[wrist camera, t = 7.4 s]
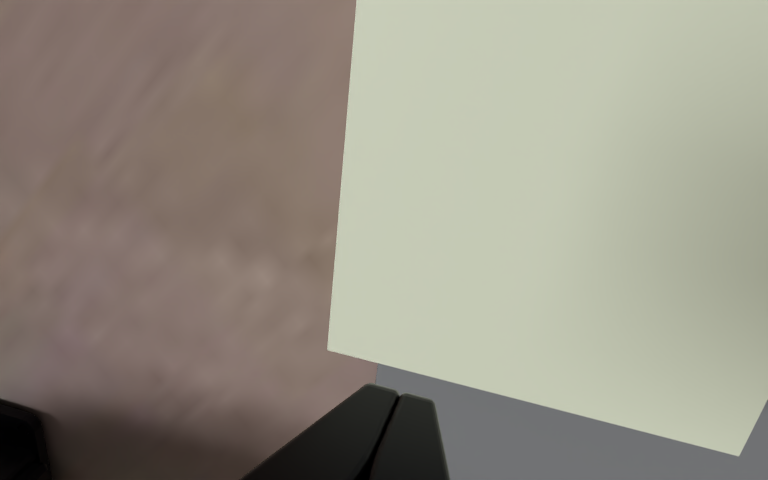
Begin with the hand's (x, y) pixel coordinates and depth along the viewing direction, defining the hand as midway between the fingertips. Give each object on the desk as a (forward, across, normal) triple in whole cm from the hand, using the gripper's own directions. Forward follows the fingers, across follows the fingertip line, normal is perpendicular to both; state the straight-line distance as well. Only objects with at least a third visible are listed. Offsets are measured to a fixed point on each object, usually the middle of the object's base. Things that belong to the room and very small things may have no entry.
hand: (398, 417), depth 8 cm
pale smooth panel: (+8, +3, 0) cm, 9 cm away
